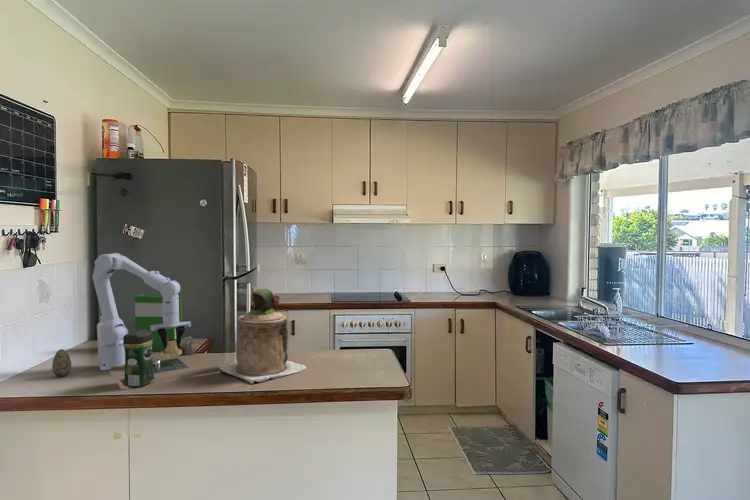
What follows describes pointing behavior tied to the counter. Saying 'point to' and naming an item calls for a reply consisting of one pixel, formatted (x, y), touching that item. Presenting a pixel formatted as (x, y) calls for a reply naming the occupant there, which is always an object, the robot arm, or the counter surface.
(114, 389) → the counter surface
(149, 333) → the coffee jar
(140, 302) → the hardback book
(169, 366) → the carrier
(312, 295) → the counter surface
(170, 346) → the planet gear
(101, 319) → the pill bottle
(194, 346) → the fossil
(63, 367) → the decorative egg
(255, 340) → the cookie jar
